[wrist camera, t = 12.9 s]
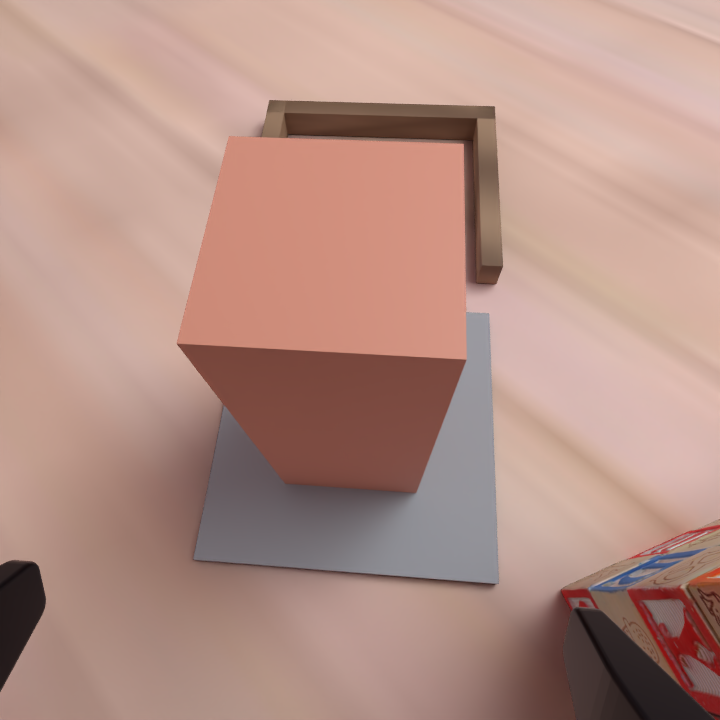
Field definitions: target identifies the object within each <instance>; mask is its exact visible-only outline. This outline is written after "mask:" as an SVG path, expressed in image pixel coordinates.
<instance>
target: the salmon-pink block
mask: <svg viewBox="0 0 720 720" xmlns="http://www.w3.org/2000/svg"><path fill="white" fill-rule="evenodd" d="M177 345H178V346H179V347H180V349H181V350H182V351H183V352H184V354H185V355H186V356H187V358H188V359H189V360H190V361H191V363H192V364H193V365H194V367H195V368H196V369H197V371H198V372H199V373H200V374H201V376H202V377H203V378H204V380H205V381H206V382H207V383H208V385H209V386H210V387H211V389H212V390H213V391H214V392H215V394H216V395H217V396H218V398H219V399H220V400H221V402H222V403H223V404H224V405H225V407H226V408H227V409H228V411H229V412H230V413H231V414H232V416H233V417H234V418H235V420H236V421H237V422H238V424H239V425H240V426H241V427H242V429H243V430H244V431H245V433H246V434H247V435H248V436H249V438H250V439H251V440H252V442H253V443H254V444H255V445H256V447H257V448H258V449H259V451H260V452H261V453H262V455H263V456H264V457H265V458H266V460H267V461H268V462H269V464H270V465H271V466H272V467H273V469H274V470H275V471H276V473H277V474H278V475H279V477H280V478H281V479H282V480H283V482H284V483H285V484H296V485H310V486H324V487H339V488H353V489H367V490H381V491H395V492H410V493H417V490H418V487H419V485H420V482H421V479H422V477H423V474H424V471H425V469H426V466H427V463H428V461H429V458H430V456H431V453H432V450H433V448H434V445H435V442H436V440H437V437H438V434H439V432H440V429H441V426H442V424H443V421H444V418H445V416H446V413H447V411H448V408H449V405H450V403H451V400H452V397H453V395H454V392H455V389H456V387H457V384H458V381H459V379H460V376H461V373H462V371H463V368H464V366H465V363H466V360H467V342H466V272H465V203H464V144H455V143H424V142H392V141H361V140H330V139H298V138H267V137H235V136H229V138H228V142H227V146H226V150H225V154H224V158H223V162H222V166H221V170H220V174H219V178H218V182H217V186H216V190H215V194H214V198H213V202H212V205H211V209H210V213H209V217H208V221H207V225H206V229H205V233H204V237H203V241H202V245H201V249H200V253H199V257H198V261H197V265H196V269H195V273H194V277H193V281H192V285H191V289H190V292H189V296H188V300H187V304H186V308H185V312H184V316H183V320H182V324H181V328H180V332H179V336H178V340H177Z"/></svg>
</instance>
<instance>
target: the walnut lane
mask: <svg viewBox="0 0 720 720" xmlns="http://www.w3.org/2000/svg"><path fill="white" fill-rule="evenodd" d="M288 134H296V135H328V136H360V137H392V138H423V139H455V140H473V168H474V209H475V249H476V283H491V284H496V283H497V281H498V278H499V275H500V273H501V270H502V267H503V257H502V238H501V219H500V199H499V180H498V160H497V141H496V122H495V107H494V106H458V105H422V104H386V103H350V102H314V101H278V100H269V105H268V109H267V114H266V119H265V123H264V128H263V132H262V137H267V138H287V137H288Z"/></svg>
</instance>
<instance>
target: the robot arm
mask: <svg viewBox="0 0 720 720" xmlns="http://www.w3.org/2000/svg"><path fill="white" fill-rule="evenodd" d="M45 604H46V596H45V592H44V587H43V583H42V579H41V574H40V570H39V567H38V565H37V564H36V563H34V562H31V561H19V560H12V561H8V562H6V563H4V564H2V565H0V691H1V690H2V688H3V686H4V684H5V682H6V680H7V679H8V677H9V675H10V673H11V671H12V669H13V668H14V666H15V664H16V662H17V660H18V658H19V656H20V655H21V653H22V651H23V649H24V647H25V645H26V644H27V642H28V640H29V638H30V636H31V634H32V633H33V631H34V629H35V627H36V625H37V623H38V621H39V620H40V618H41V616H42V614H43V611H44V609H45ZM563 655H564V662H565V667H566V672H567V677H568V682H569V686H570V691H571V696H572V701H573V706H574V711H575V715H576V720H716V719H715V718H714V717H713V716H711V715H710V714H709V713H708V712H707V711H706V710H705V709H704V708H703V707H702V706H701V705H700V704H699V703H698V702H697V701H696V700H695V699H694V698H693V697H692V696H691V695H690V694H689V693H688V692H686V691H685V690H684V689H683V688H682V687H681V686H680V685H679V684H678V683H677V682H676V681H675V680H674V679H673V678H672V677H671V676H670V675H669V674H668V673H667V672H666V671H665V670H664V669H662V668H661V667H660V666H659V665H658V664H657V663H656V662H655V661H654V660H653V659H652V658H651V657H650V656H649V655H648V654H647V653H646V652H645V651H644V650H643V649H642V648H641V647H640V646H639V645H637V644H636V643H635V642H634V641H633V640H632V639H631V638H630V637H629V636H628V635H627V634H626V633H625V632H624V631H623V630H622V629H621V628H620V627H619V626H618V625H617V624H616V623H615V622H614V621H612V620H611V619H610V618H609V617H608V616H607V615H606V614H605V613H604V612H603V611H601V610H600V609H597V608H587V607H575V608H573V609H572V611H571V614H570V618H569V622H568V627H567V631H566V635H565V640H564V645H563Z"/></svg>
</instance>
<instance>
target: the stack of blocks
mask: <svg viewBox="0 0 720 720" xmlns="http://www.w3.org/2000/svg"><path fill="white" fill-rule="evenodd" d="M561 592H562V594H563V596H564V598H565V600H566V602H567V604H568V606H569V608H570V609H571V611H572V609H573V608H575V607H587V608H597V609H600V610H601V611H603V612H604V613H605V614H606V615H607V616H608V617H609V618H610V619H611V620H612V621H614V622H615V623H616V624H617V625H618V626H619V627H620V628H621V629H622V630H623V631H624V632H625V633H626V634H627V635H628V636H629V637H630V638H631V639H632V640H633V641H634V642H635V643H636V644H637V645H639V646H640V647H641V648H642V649H643V650H644V651H645V652H646V653H647V654H648V655H649V656H650V657H651V658H652V659H653V660H654V661H655V662H656V663H657V664H658V665H659V666H660V667H661V668H662V669H664V670H665V671H666V672H667V673H668V674H669V675H670V676H671V677H672V678H673V679H674V680H675V681H676V682H677V683H678V684H679V685H680V686H681V687H682V688H683V689H684V690H685V691H686V692H688V693H689V694H690V695H691V696H692V697H693V698H694V699H695V700H696V701H697V702H698V703H699V704H700V705H701V706H702V707H703V708H704V709H705V710H706V711H707V712H708V713H709V714H710V715H711V716H713V717H714V718H715V719H716V720H720V519H719V520H717V521H715V522H712V523H710V524H708V525H706V526H704V527H702V528H700V529H698V530H694V531H689V532H686V533H685V534H682V535H680V536H677V537H675V538H673V539H671V540H669V541H667V542H664V543H662V544H660V545H658V546H656V547H653V548H651V549H649V550H647V551H645V552H642V553H640V554H638V555H636V556H634V557H632V558H629V559H627V560H623V561H621V562H618V563H616V564H614V565H612V566H610V567H607V568H605V569H603V570H601V571H598V572H596V573H594V574H592V575H590V576H587V577H585V578H583V579H581V580H579V581H576V582H574V583H572V584H570V585H568V586H565V587H564V588H563V589H562V590H561Z"/></svg>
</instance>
